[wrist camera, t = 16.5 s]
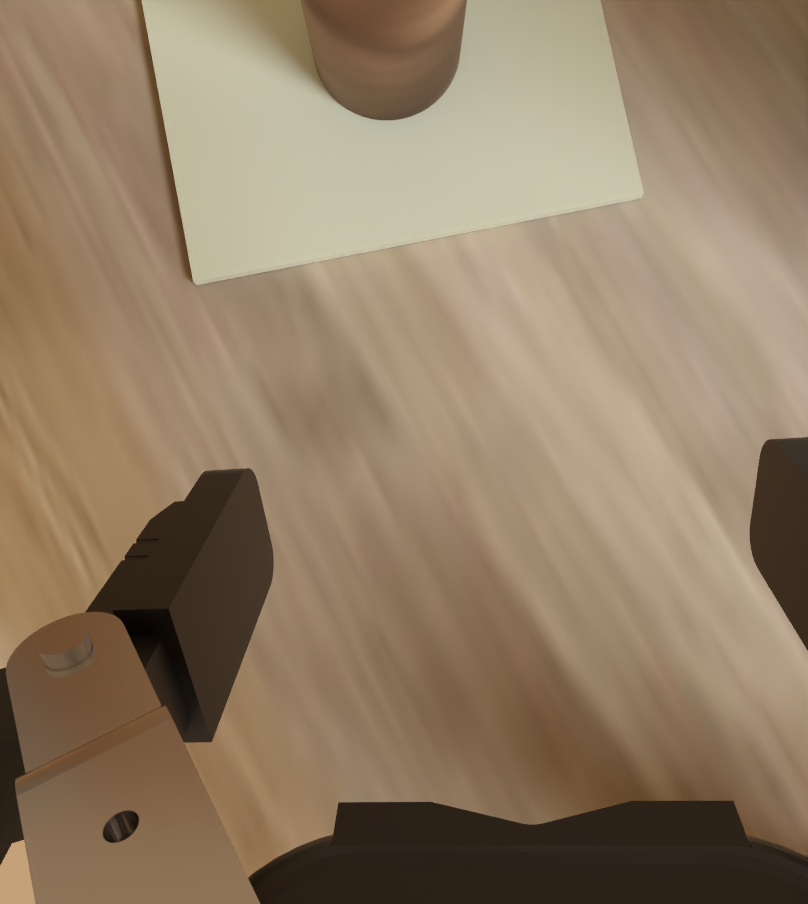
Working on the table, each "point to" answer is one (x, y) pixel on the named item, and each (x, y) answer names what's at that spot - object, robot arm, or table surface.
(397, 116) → the walnut cylinder
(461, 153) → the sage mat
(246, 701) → the table surface
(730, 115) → the table surface
